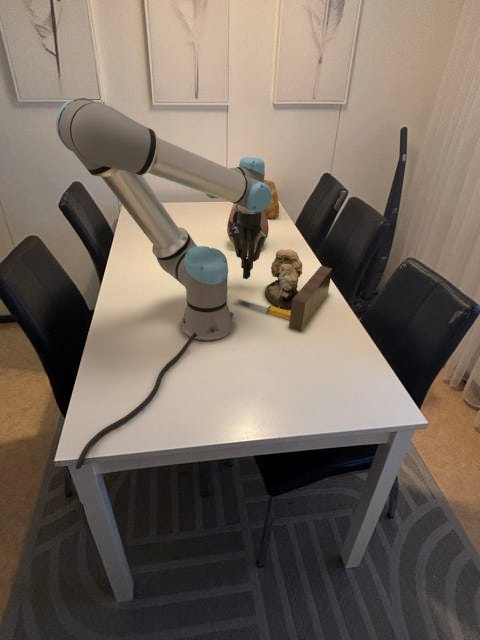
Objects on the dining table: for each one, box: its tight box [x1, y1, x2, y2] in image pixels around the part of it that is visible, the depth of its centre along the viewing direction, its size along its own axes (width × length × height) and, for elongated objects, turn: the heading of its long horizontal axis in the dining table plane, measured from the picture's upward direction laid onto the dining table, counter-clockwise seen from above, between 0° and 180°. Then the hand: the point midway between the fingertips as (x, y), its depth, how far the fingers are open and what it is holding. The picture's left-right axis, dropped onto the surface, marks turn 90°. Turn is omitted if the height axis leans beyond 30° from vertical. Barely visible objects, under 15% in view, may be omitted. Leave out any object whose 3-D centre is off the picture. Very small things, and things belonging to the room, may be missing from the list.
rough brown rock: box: [264, 179, 280, 219], centre depth 202 cm, size 23×17×15 cm
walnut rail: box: [288, 265, 333, 332], centre depth 124 cm, size 26×4×10 cm, turn 152°
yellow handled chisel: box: [235, 299, 291, 321], centre depth 125 cm, size 20×3×2 cm, turn 62°
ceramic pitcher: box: [226, 203, 270, 250], centre depth 163 cm, size 18×21×25 cm
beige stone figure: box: [264, 249, 303, 310], centre depth 129 cm, size 18×12×17 cm, turn 12°
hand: (246, 277), depth 136 cm, fingers closed
